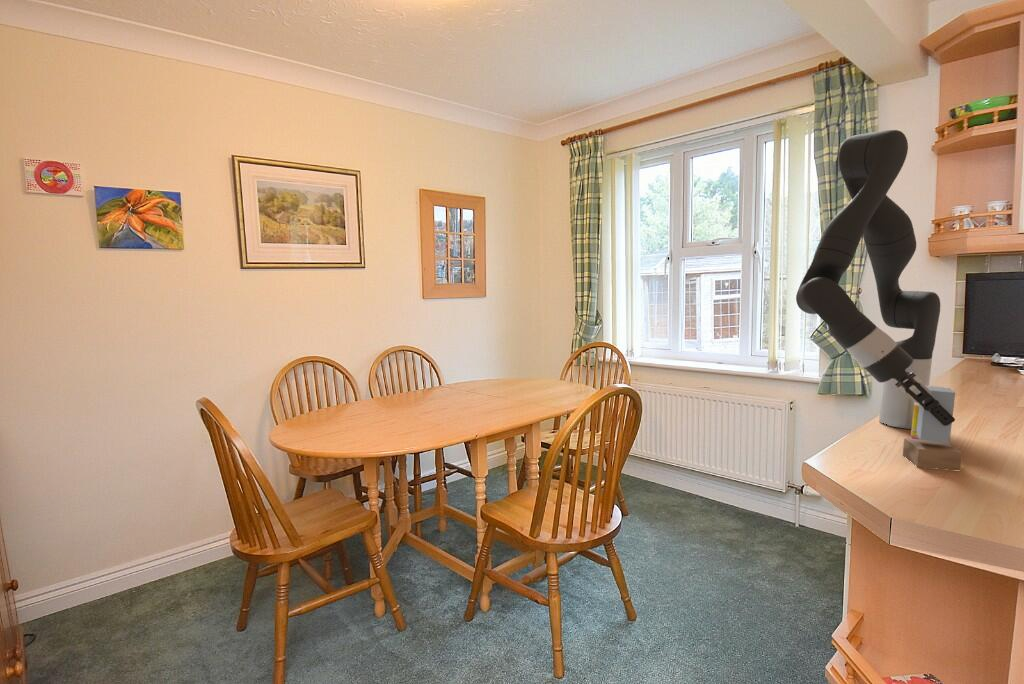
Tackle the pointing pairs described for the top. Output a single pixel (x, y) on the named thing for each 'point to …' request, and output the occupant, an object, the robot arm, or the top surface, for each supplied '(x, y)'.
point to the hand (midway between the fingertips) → (946, 419)
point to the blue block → (928, 423)
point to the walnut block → (932, 454)
